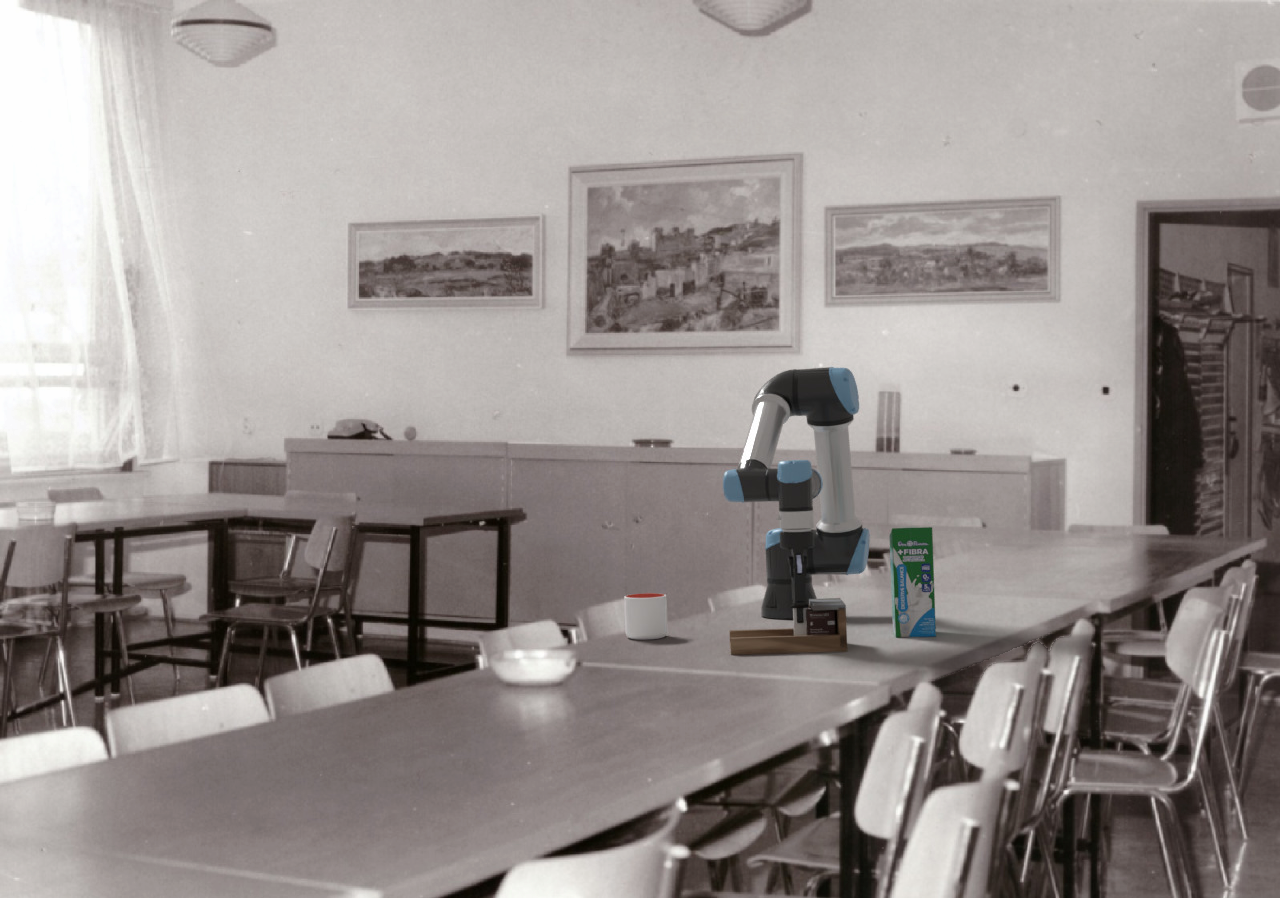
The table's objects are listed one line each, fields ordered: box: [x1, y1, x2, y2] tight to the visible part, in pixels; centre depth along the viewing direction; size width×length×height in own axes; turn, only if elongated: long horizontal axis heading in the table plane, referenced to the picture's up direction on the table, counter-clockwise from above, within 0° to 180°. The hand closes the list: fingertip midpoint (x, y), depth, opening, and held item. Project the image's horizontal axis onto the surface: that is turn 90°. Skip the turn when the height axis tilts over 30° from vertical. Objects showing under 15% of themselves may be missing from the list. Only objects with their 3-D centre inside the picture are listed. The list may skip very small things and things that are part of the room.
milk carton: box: [889, 525, 937, 638], centre depth 332 cm, size 9×9×25 cm
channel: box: [729, 597, 848, 656], centre depth 318 cm, size 13×25×10 cm, turn 87°
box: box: [806, 608, 835, 635], centre depth 318 cm, size 6×6×7 cm
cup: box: [623, 592, 669, 641], centre depth 343 cm, size 10×10×10 cm
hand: (800, 637), depth 318 cm, fingers closed
